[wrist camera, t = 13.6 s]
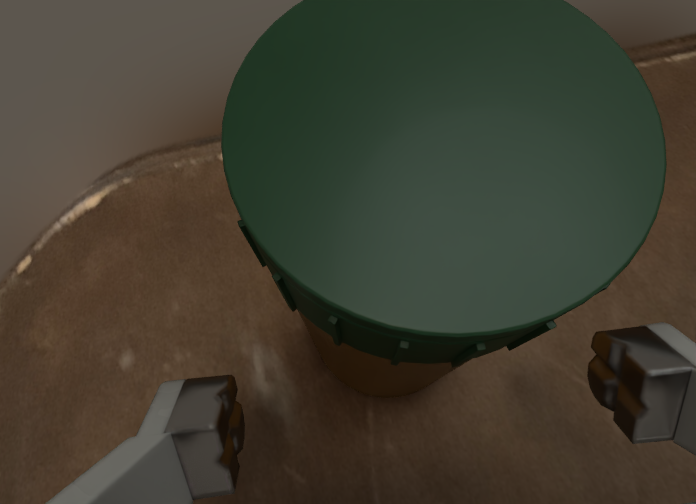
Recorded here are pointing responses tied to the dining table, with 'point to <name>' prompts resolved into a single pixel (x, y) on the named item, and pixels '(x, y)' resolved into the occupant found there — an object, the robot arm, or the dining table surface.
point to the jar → (373, 368)
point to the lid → (441, 169)
